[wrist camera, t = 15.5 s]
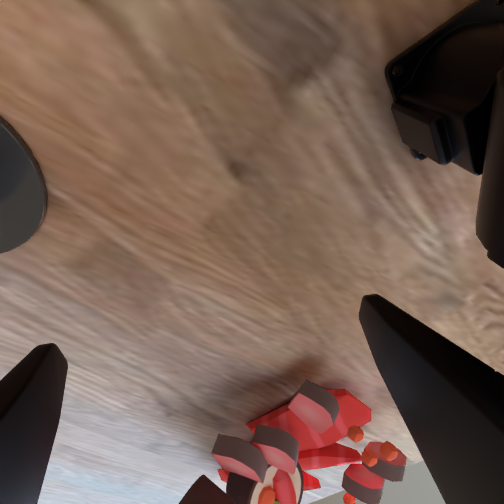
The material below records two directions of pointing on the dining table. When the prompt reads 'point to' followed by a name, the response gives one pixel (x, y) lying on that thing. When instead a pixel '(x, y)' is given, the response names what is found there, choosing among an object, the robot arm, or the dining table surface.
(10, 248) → the coaster
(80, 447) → the dining table surface
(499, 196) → the robot arm
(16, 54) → the dining table surface
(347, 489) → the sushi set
